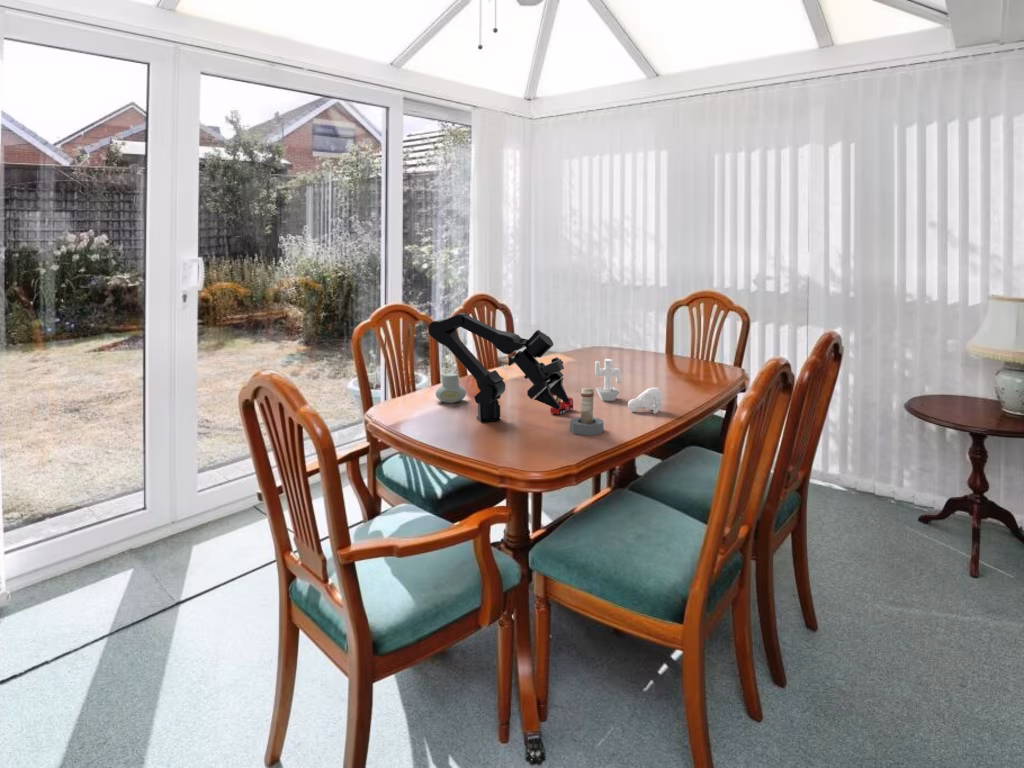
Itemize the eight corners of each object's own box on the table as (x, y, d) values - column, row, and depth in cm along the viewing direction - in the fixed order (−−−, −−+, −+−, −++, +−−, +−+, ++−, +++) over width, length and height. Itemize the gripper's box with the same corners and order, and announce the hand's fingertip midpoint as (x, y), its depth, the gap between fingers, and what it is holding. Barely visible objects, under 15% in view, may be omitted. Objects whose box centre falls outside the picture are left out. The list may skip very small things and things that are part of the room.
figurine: (622, 401, 233) (623, 360, 230) (596, 402, 232) (597, 361, 229) (617, 396, 240) (618, 357, 237) (592, 397, 239) (593, 357, 236)
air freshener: (434, 404, 230) (433, 376, 228) (437, 398, 238) (436, 372, 236) (465, 404, 230) (464, 376, 228) (466, 398, 238) (466, 372, 236)
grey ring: (578, 436, 191) (578, 426, 191) (565, 427, 200) (565, 418, 200) (608, 433, 194) (609, 423, 194) (594, 424, 204) (594, 415, 203)
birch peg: (587, 433, 195) (588, 391, 192) (577, 430, 197) (578, 389, 195) (595, 430, 197) (596, 389, 194) (586, 427, 200) (586, 387, 197)
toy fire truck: (574, 409, 222) (575, 382, 220) (551, 418, 212) (551, 389, 209) (566, 408, 224) (566, 381, 222) (543, 416, 214) (543, 388, 212)
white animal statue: (663, 389, 214) (629, 392, 214) (664, 413, 216) (630, 416, 216) (658, 385, 220) (625, 388, 220) (660, 408, 222) (626, 412, 222)
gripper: (537, 355, 189) (572, 395, 187) (558, 345, 205) (590, 382, 204) (512, 379, 193) (546, 418, 192) (534, 368, 210) (566, 404, 208)
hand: (563, 404), depth 199 cm, fingers open, 9 cm apart
